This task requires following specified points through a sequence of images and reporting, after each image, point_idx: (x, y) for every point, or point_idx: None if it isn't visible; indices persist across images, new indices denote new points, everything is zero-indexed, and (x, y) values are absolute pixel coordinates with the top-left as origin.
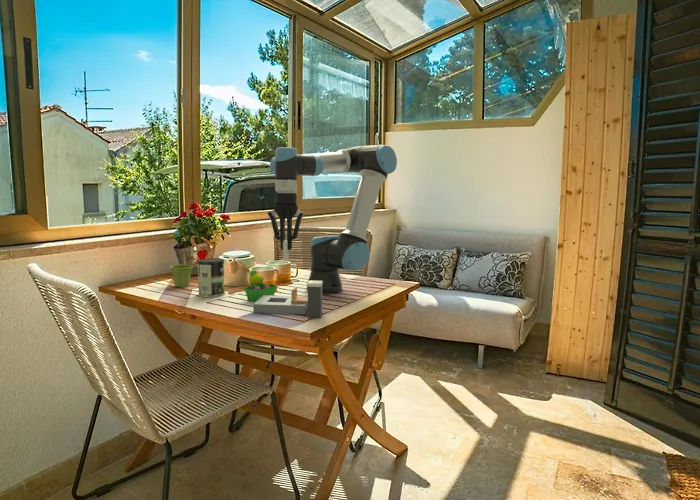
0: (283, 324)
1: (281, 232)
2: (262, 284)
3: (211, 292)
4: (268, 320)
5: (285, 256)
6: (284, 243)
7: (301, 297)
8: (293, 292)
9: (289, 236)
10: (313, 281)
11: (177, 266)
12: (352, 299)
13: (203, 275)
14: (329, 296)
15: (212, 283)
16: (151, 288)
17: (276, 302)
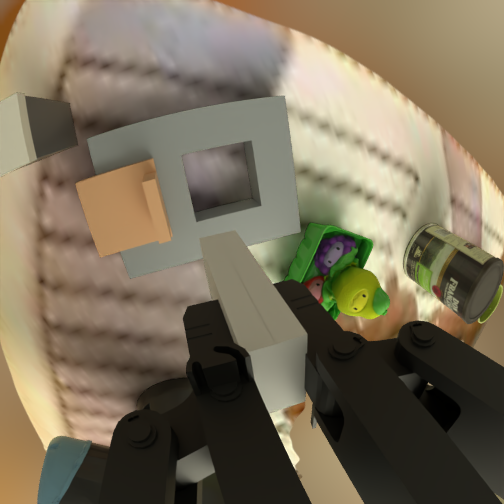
0: (121, 6)
1: (408, 427)
2: (330, 292)
3: (429, 232)
4: (185, 25)
5: (219, 245)
6: (272, 318)
7: (135, 222)
8: (146, 179)
9: (226, 432)
10: (3, 145)
11: (492, 308)
12: (62, 358)
13: (471, 244)
14: (133, 365)
15: (443, 243)
16: (492, 247)
17: (211, 143)
